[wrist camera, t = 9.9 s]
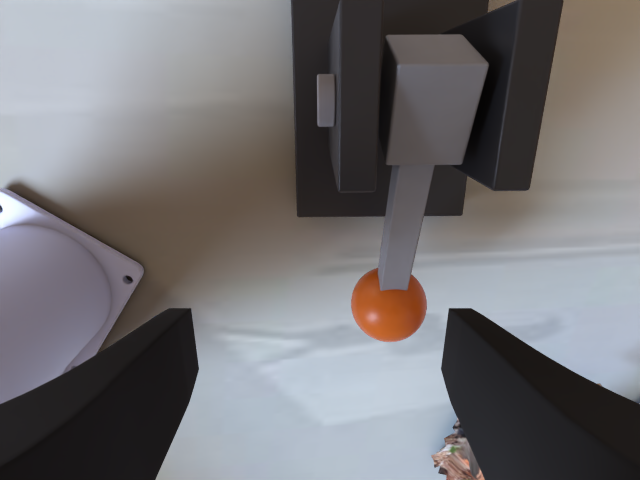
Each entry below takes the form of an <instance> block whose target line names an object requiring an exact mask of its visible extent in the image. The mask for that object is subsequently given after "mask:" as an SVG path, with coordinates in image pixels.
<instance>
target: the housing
mask: <svg viewBox="0 0 640 480" xmlns="http://www.w3.org/2000/svg"><path fill="white" fill-rule="evenodd" d="M488 3H489V0H291V11H292V47H293V84H294V120H295V156H296V193H297V216H298V217H369V216H385V215H386V208H387V201H388V193H389V186H390V179H391V171H392V165H386V163H385V159H384V155H383V151H382V147H381V143H380V139H379V135H378V132H379V109H380V86H381V71H382V61H383V51H384V41H385V37H386V36H387V35H448V34H461V35H463V36H464V37H465V38H466V39H467V40H468V41H469V43H470V44H471V45H472V46H473V47H474V48H475V49H476V50H477V51H478V52H479V53H480V54H481V56H482V57H483V58H484V59H485V60H486V61H487V62H488V63H489V67H488V71H487V74H486V78H485V82H484V86H483V89H482V93H481V97H480V100H479V104H478V108H477V111H476V115H475V119H474V123H473V126H472V130H471V134H470V137H469V141H468V145H467V148H466V152H465V156H464V160H463V163H462V164H460V165H435V166H434V170H433V175H432V180H431V184H430V189H429V193H428V198H427V203H426V207H425V212H424V216H461V215H462V213H463V205H464V197H465V189H466V181H467V176H469V177H471V178H472V179H474V180H476V181H477V182H479V183H481V184H483V185H484V186H486V187H488V188H490V189H491V190H493V191H526V190H529V188H530V183H531V178H532V172H533V167H534V161H535V156H536V150H537V145H538V139H539V133H540V128H541V122H542V117H543V111H544V106H545V100H546V95H547V89H548V84H549V78H550V73H551V67H552V61H553V56H554V50H555V45H556V39H557V34H558V28H559V23H560V17H561V12H562V6H563V0H516V1H514V2H512V3H509V4H507V5H505V6H502V7H500V8H498V9H495V10H493V11H491V12H489V13H487V11H488Z"/></svg>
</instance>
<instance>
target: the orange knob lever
mask: <svg viewBox="0 0 640 480" xmlns="http://www.w3.org/2000/svg"><path fill="white" fill-rule="evenodd" d="M488 67H489V63H488V62H487V61H486V60H485V59H484V58H483V57H482V56H481V54H480V53H479V52H478V51H477V50H476V49H475V48H474V47H473V46H472V45H471V44H470V43H469V41H468V40H467V39H466V38H465V37H464V36H463V35H461V34H448V35H387V36H386V37H385V41H384V51H383V61H382V71H381V86H380V109H379V132H378V135H379V139H380V143H381V147H382V151H383V155H384V159H385V163H386V165H392V171H391V179H390V186H389V193H388V201H387V208H386V215H385V223H384V230H383V237H382V245H381V252H380V259H379V267H378V268H376V269H373V270H371V271H369V272H368V273H366V274H365V275H364V276H363V277H362V278H361V279H360V280H359V281H358V282H357V284H356V286H355V288H354V290H353V293H352V299H351V308H352V313H353V316H354V319H355V321H356V323H357V324H358V326H359V327H360V328H361V329H362V330H363V331H364V332H365V333H366V334H367V335H369V336H370V337H372V338H374V339H377V340H380V341H384V342H395V341H400V340H403V339H406V338H408V337H409V336H411V335H412V334H413V333H415V332H416V331H417V330H418V328H419V327H420V326H421V324H422V322H423V320H424V318H425V315H426V309H427V301H426V296H425V292H424V290H423V288H422V286H421V284H420V283H419V282H418V280H417V279H416V278H415V277H414V276H413V275H411V271H412V267H413V262H414V258H415V253H416V248H417V244H418V239H419V235H420V230H421V225H422V221H423V216H424V212H425V207H426V203H427V198H428V193H429V189H430V184H431V180H432V175H433V170H434V166H435V165H460V164H462V163H463V160H464V156H465V152H466V148H467V145H468V141H469V137H470V134H471V130H472V126H473V123H474V119H475V115H476V111H477V108H478V104H479V100H480V97H481V93H482V89H483V86H484V82H485V78H486V74H487V71H488Z"/></svg>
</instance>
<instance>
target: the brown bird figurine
mask: <svg viewBox="0 0 640 480" xmlns="http://www.w3.org/2000/svg"><path fill="white" fill-rule="evenodd" d="M598 385H600V386H601V384H598ZM453 429H454V430H455V433H453V434H451V435H449V436H448V437H446V438H444V440H445V445H446V447H444V448H442V449H441V451H440V452H437V453H436V454H434V455H432V458H433V460H434V467H438V466H440V465H441V466H440V469H439V473H440V474H444V475H447V479H446V480H485V479H484V477H483V474H482V472H481V470H480V468H479V465H478V463H477V461H476V459H475V456H474V454H473V452H472V450H471V447H470V445H469V443H468V441H467V438H466V436H465V434H464V432H463V429H462V427H461V425H460V423H459V420H458V418H457V422H456V423H455V425H454V426H453Z"/></svg>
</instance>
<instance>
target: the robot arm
mask: <svg viewBox="0 0 640 480" xmlns="http://www.w3.org/2000/svg"><path fill="white" fill-rule="evenodd" d="M0 205H1V206H2V208H3V210H1V209H0V480H155V479H156V477H157V474H158V472H159V470H160V468H161V465H162V463H163V461H164V459H165V456H166V454H167V452H168V450H169V447H170V445H171V443H172V441H173V438H174V436H175V434H176V432H177V429H178V427H179V425H180V423H181V420H182V418H183V416H184V413H185V411H186V409H187V406H188V404H189V401H190V398H191V395H192V392H193V388H194V385H195V381H196V377H197V374H198V370H199V367H198V359H197V351H196V343H195V336H194V328H193V320H192V313H191V308H169V309H167V310H165V311H164V312H162V313H160V314H159V315H157V316H155V317H154V318H152V319H151V320H149V321H148V322H146V323H145V324H143V325H142V326H140V327H139V328H137V329H136V330H134V331H133V332H131V333H130V334H128V335H127V336H125V337H124V338H122V339H120V340H119V341H117V342H116V343H114V344H113V345H111V346H110V347H108V348H106V349H105V350H103V351H101V352H100V353H98V354H97V352H98V350H99V349H100V347H101V345H102V344H103V342H104V340H105V338H106V337H107V335H108V333H109V332H110V330H111V328H112V327H113V325H114V323H115V322H116V320H117V318H118V317H119V315H120V313H121V312H122V310H123V308H124V306H125V305H126V303H127V301H128V300H129V298H130V296H131V295H132V293H133V291H134V290H135V288H136V286H137V285H138V283H139V281H140V279H141V278H142V276H143V274H144V268H143V267H142V265H140V264H139V263H138V262H136V261H134V260H132V259H130V258H129V257H127V256H125V255H123V254H122V253H120V252H118V251H116V250H115V249H113V248H111V247H109V246H107V245H106V244H104V243H102V242H100V241H99V240H97V239H95V238H93V237H92V236H90V235H88V234H86V233H84V232H83V231H81V230H79V229H77V228H76V227H74V226H72V225H70V224H68V223H67V222H65V221H63V220H61V219H60V218H58V217H56V216H54V215H53V214H51V213H49V212H47V211H45V210H44V209H42V208H40V207H38V206H37V205H35V204H33V203H31V202H30V201H28V200H26V199H24V198H22V197H21V196H19V195H17V194H15V193H14V192H12V191H10V190H8V189H2V188H1V189H0ZM126 276H130V277H131V278H132V279H133V281H129V280H128V279H127V278H126ZM75 366H77V367H75ZM441 370H442V374H443V377H444V381H445V385H446V388H447V392H448V395H449V398H450V401H451V404H452V406H453V409H454V411H455V413H456V416H457V418H458V420H459V423H460V425H461V427H462V429H463V432H464V434H465V436H466V438H467V441H468V443H469V445H470V447H471V450H472V452H473V454H474V456H475V459H476V461H477V463H478V465H479V468H480V470H481V472H482V474H483V477H484V479H485V480H640V404H638V403H636V402H634V401H631V400H629V399H627V398H625V397H623V396H620V395H618V394H616V393H614V392H612V391H610V390H608V389H606V388H604V387H602V386H600V385H598V384H596V383H594V382H592V381H590V380H588V379H586V378H584V377H582V376H580V375H578V374H576V373H575V372H573V371H571V370H569V369H567V368H566V367H564V366H562V365H561V364H559V363H557V362H555V361H554V360H552V359H550V358H548V357H547V356H545V355H544V354H542V353H540V352H539V351H537V350H535V349H534V348H532V347H531V346H529V345H527V344H526V343H524V342H523V341H521V340H520V339H518V338H517V337H515V336H514V335H512V334H511V333H509V332H508V331H506V330H505V329H503V328H502V327H500V326H499V325H497V324H496V323H494V322H492V321H491V320H489V319H488V318H486V317H485V316H483V315H482V314H480V313H478V312H477V311H475V310H473V309H471V308H449V313H448V320H447V328H446V336H445V344H444V351H443V359H442V367H441Z"/></svg>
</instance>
